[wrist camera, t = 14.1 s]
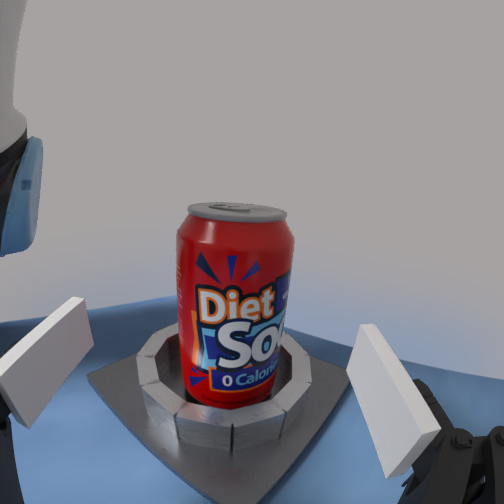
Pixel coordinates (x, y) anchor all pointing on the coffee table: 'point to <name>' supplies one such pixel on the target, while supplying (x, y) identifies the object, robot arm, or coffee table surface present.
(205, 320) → the soda can
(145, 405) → the housing
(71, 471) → the coffee table surface
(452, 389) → the coffee table surface
